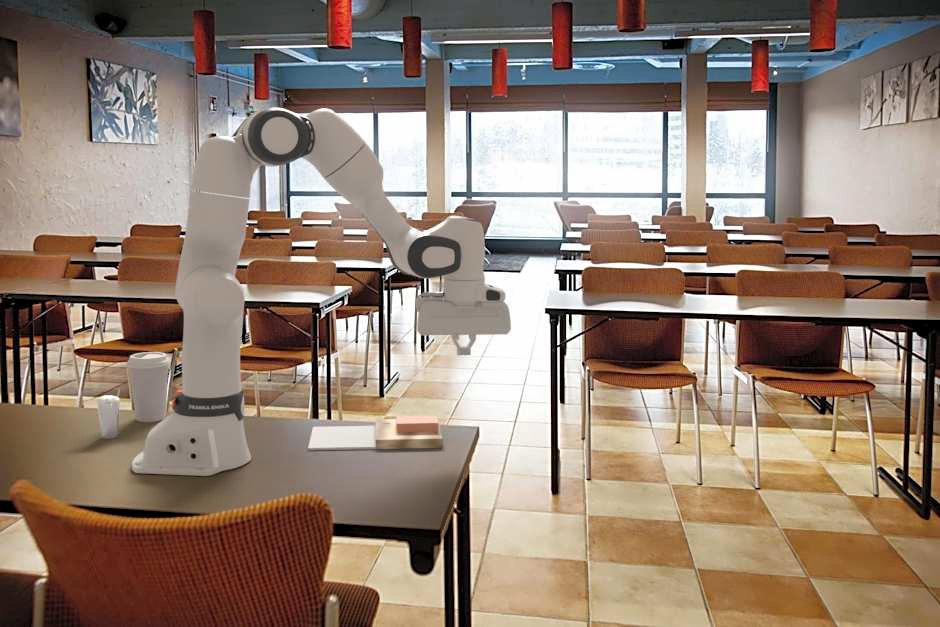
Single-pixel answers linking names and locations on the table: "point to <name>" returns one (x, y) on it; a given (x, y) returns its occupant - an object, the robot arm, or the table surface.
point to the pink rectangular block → (416, 424)
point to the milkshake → (108, 415)
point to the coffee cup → (149, 385)
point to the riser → (404, 437)
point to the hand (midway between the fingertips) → (463, 354)
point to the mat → (343, 438)
